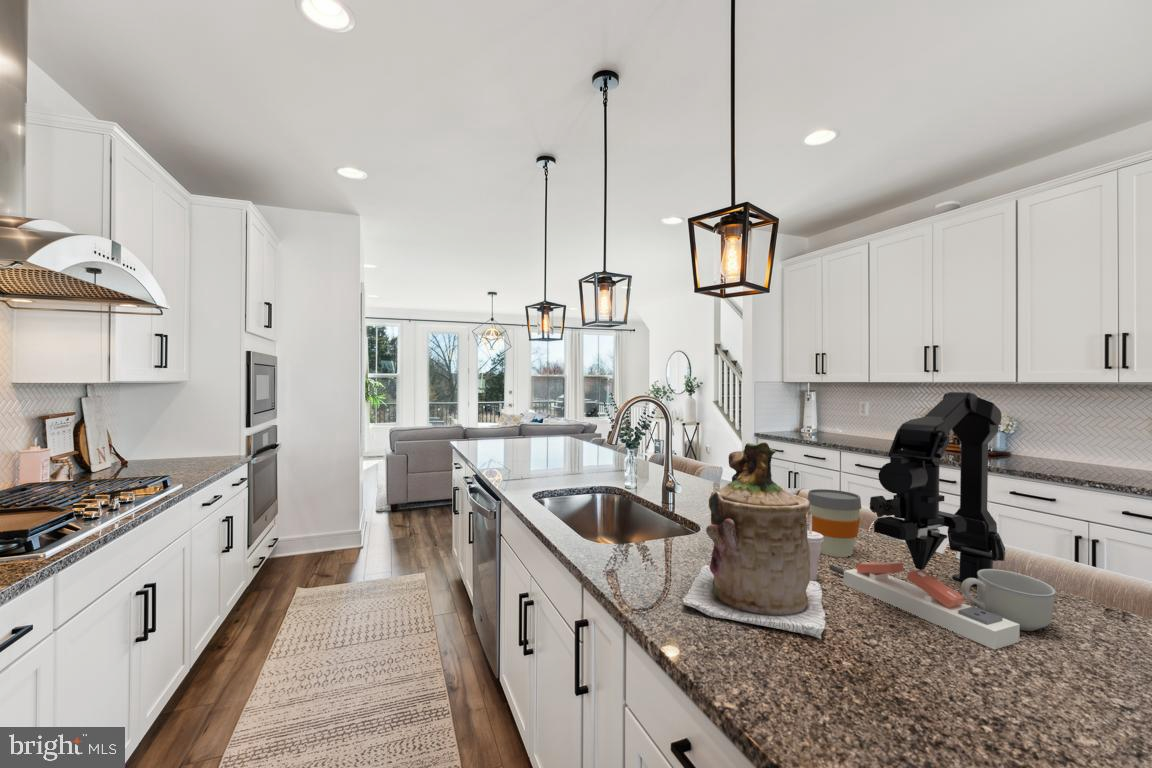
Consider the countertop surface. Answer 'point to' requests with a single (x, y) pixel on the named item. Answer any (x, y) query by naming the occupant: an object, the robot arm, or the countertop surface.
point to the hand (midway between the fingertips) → (919, 569)
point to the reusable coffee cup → (835, 520)
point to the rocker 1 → (879, 567)
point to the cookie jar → (758, 552)
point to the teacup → (1013, 597)
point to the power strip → (934, 608)
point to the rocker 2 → (935, 588)
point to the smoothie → (814, 549)
